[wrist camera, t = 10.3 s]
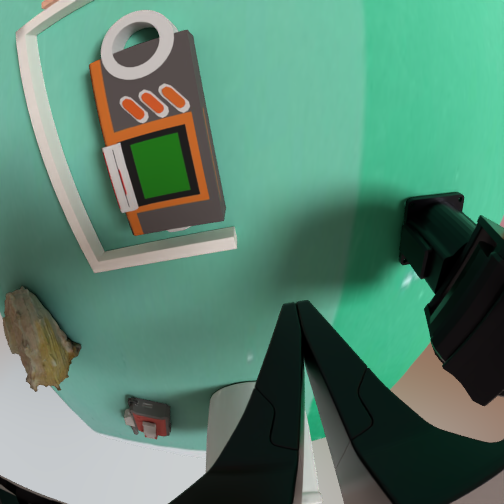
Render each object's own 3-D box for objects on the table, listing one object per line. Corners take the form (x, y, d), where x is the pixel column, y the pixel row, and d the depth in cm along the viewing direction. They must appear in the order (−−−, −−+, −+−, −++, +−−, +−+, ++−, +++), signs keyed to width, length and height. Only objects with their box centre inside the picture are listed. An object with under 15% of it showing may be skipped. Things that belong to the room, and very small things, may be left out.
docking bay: (172, -48, 9) (166, -59, 7) (237, 237, 21) (236, 252, 20) (26, 27, 10) (11, 26, 8) (100, 262, 22) (92, 276, 21)
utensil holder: (327, 386, 36) (348, 498, 21) (275, 422, 43) (282, 510, 29) (231, 368, 32) (230, 509, 17) (195, 409, 39) (189, 509, 25)
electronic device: (180, -5, 10) (224, 228, 18) (190, 8, 12) (227, 210, 20) (77, 35, 10) (129, 243, 18) (98, 40, 13) (142, 224, 21)
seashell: (64, 274, 25) (14, 337, 16) (101, 364, 32) (76, 423, 23) (5, 268, 25) (-40, 316, 16) (43, 350, 31) (16, 399, 23)
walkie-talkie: (118, 388, 37) (132, 426, 47) (112, 411, 33) (129, 444, 44) (171, 399, 38) (171, 434, 49) (168, 424, 34) (170, 452, 45)
